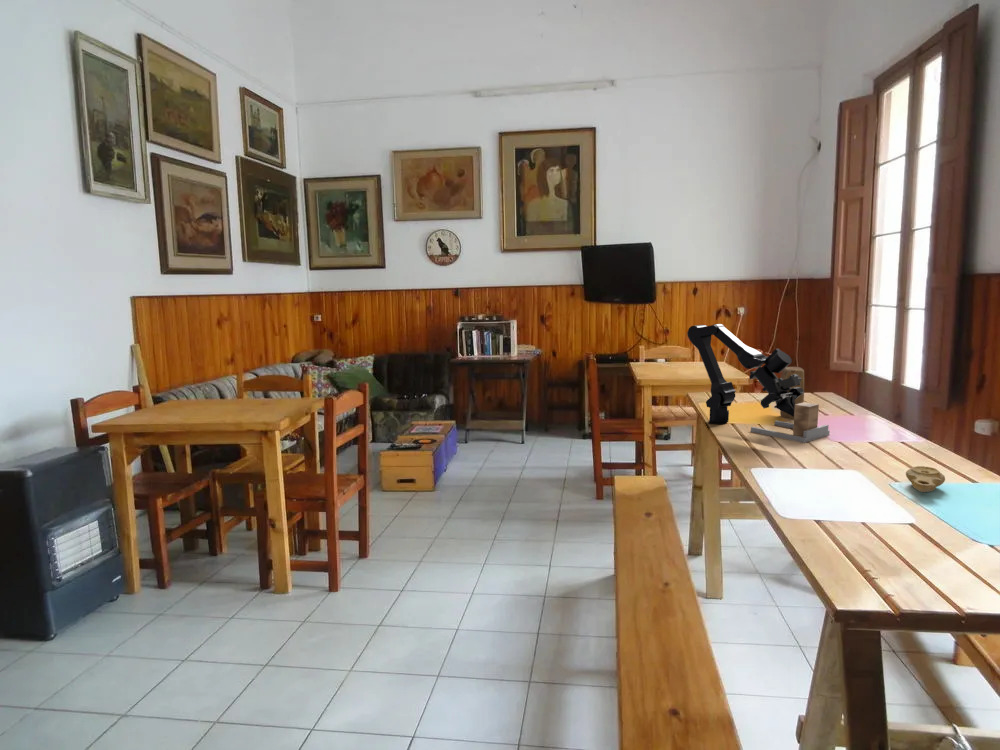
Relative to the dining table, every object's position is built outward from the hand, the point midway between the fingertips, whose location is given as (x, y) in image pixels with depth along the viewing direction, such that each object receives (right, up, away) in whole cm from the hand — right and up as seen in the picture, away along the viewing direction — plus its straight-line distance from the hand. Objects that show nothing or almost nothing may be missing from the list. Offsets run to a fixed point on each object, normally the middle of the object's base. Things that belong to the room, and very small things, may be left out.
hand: (797, 417), depth 215 cm
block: (+12, -3, +32) cm, 34 cm away
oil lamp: (+10, -16, -50) cm, 53 cm away
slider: (+2, -6, -1) cm, 7 cm away
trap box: (-1, -7, +3) cm, 8 cm away
